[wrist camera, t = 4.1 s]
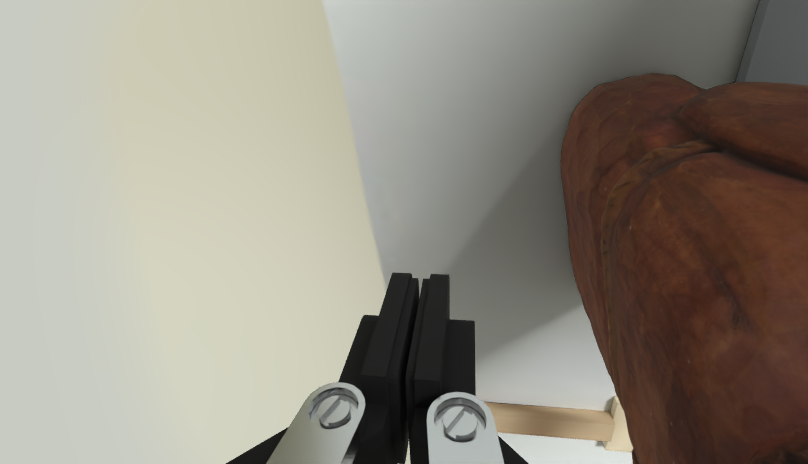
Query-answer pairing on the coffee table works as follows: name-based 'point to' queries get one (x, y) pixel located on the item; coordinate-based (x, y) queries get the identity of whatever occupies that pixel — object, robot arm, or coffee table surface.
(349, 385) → the robot arm
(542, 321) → the coffee table surface
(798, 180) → the wooden figurine
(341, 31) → the coffee table surface
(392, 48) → the coffee table surface
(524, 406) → the turner
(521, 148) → the coffee table surface
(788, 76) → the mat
